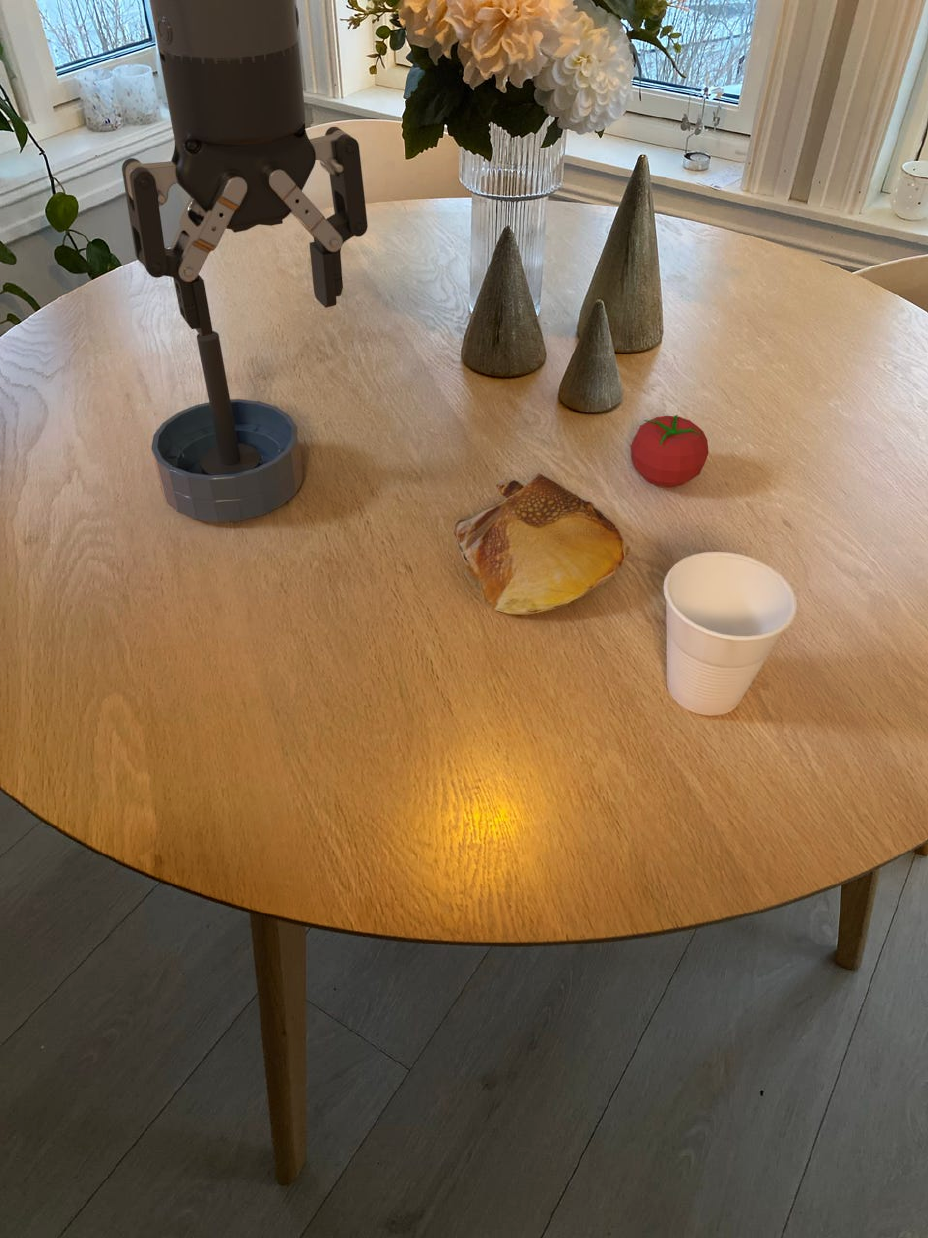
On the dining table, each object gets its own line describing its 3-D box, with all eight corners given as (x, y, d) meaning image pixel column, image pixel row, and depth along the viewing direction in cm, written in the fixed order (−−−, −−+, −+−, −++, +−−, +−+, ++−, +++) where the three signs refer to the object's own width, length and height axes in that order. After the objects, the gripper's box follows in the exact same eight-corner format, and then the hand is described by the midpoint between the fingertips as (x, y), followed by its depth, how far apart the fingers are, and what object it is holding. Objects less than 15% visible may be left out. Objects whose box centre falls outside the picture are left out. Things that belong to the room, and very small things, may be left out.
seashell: (666, 535, 88) (551, 584, 79) (638, 596, 93) (527, 647, 84) (546, 437, 95) (429, 471, 87) (526, 497, 100) (414, 535, 92)
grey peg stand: (192, 486, 98) (160, 342, 87) (227, 456, 102) (200, 315, 91) (241, 502, 96) (214, 357, 85) (274, 471, 100) (253, 328, 89)
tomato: (613, 483, 101) (622, 420, 95) (645, 448, 105) (656, 386, 100) (683, 509, 98) (697, 446, 92) (713, 473, 102) (728, 410, 97)
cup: (779, 676, 81) (814, 578, 73) (741, 755, 75) (774, 657, 67) (669, 633, 85) (691, 535, 77) (624, 706, 78) (643, 607, 71)
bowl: (141, 519, 95) (127, 469, 91) (194, 441, 105) (184, 392, 101) (278, 536, 94) (270, 486, 89) (319, 455, 104) (314, 406, 100)
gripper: (321, 6, 57) (341, 273, 68) (76, 31, 51) (141, 316, 63) (377, 34, 52) (388, 316, 63) (113, 65, 47) (176, 367, 58)
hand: (265, 316), depth 63 cm, fingers open, 8 cm apart
